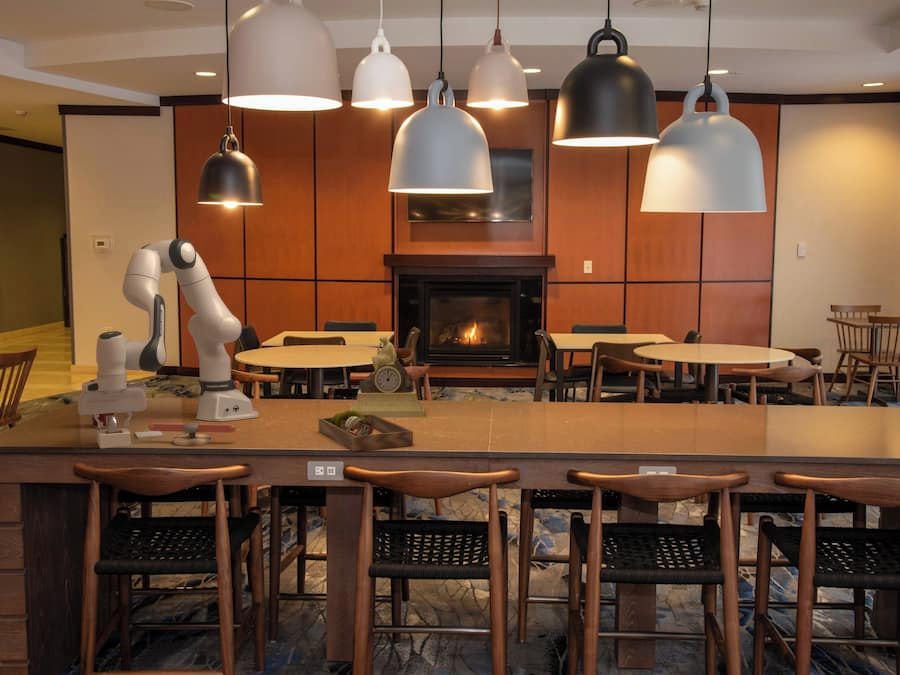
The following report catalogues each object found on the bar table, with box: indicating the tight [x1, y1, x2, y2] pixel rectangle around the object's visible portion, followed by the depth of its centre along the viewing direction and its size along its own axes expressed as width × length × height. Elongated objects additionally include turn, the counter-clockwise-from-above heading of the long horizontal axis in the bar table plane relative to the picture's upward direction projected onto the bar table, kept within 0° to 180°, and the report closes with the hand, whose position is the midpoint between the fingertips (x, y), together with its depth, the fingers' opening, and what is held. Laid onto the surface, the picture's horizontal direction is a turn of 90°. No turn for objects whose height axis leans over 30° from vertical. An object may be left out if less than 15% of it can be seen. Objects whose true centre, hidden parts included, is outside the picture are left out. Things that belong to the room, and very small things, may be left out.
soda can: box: [91, 413, 115, 429], centre depth 310 cm, size 7×7×12 cm
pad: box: [134, 430, 164, 440], centre depth 295 cm, size 8×8×1 cm
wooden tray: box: [318, 414, 414, 452], centre depth 292 cm, size 20×34×4 cm, turn 27°
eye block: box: [96, 427, 132, 449], centre depth 281 cm, size 9×9×4 cm
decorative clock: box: [349, 335, 425, 419], centre depth 335 cm, size 28×13×30 cm, turn 93°
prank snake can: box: [330, 409, 375, 436], centre depth 293 cm, size 12×10×25 cm
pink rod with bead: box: [148, 422, 237, 434], centre depth 285 cm, size 5×29×3 cm, turn 86°
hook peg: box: [106, 414, 120, 434], centre depth 281 cm, size 4×4×9 cm
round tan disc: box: [172, 432, 213, 447], centre depth 285 cm, size 12×12×3 cm
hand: (113, 426), depth 281 cm, fingers open, 6 cm apart
